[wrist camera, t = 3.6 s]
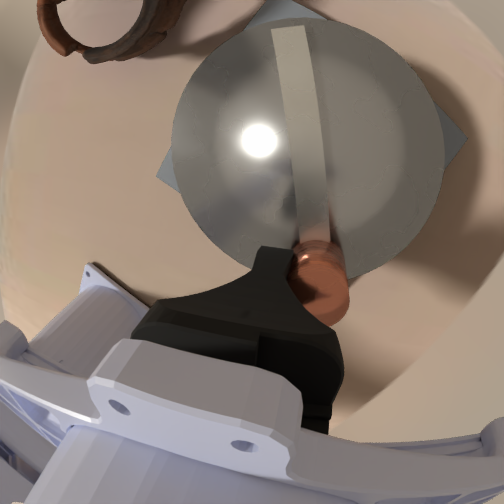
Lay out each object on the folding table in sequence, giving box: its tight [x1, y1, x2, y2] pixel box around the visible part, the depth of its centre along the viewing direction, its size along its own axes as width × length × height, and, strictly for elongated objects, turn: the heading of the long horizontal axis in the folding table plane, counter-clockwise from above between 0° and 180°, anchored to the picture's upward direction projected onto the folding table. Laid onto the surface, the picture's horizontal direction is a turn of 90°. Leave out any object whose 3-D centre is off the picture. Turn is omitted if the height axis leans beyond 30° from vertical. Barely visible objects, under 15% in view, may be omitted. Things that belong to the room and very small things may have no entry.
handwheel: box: [171, 17, 445, 327], centre depth 10 cm, size 11×11×6 cm
